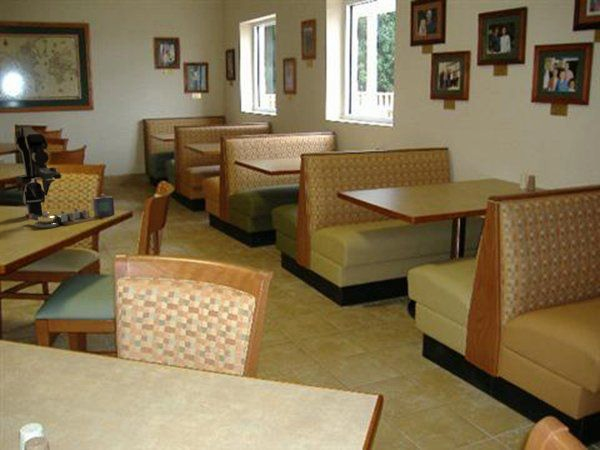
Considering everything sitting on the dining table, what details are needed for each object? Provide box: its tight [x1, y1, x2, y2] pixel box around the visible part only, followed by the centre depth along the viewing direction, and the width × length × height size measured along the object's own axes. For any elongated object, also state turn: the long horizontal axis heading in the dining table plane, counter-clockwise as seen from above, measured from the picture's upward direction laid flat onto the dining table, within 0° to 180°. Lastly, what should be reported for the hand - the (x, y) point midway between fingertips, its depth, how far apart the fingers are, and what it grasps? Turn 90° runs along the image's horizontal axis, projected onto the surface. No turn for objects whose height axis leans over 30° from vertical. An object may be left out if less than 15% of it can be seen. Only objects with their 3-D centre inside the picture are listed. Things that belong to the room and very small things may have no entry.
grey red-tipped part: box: [28, 214, 55, 224], centre depth 272 cm, size 15×7×3 cm, turn 57°
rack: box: [59, 207, 95, 226], centre depth 280 cm, size 9×14×5 cm, turn 147°
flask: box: [92, 193, 115, 218], centre depth 290 cm, size 9×3×11 cm, turn 115°
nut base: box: [34, 211, 60, 230], centre depth 270 cm, size 10×10×6 cm
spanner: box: [53, 209, 90, 222], centre depth 279 cm, size 5×16×3 cm, turn 147°
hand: (40, 196), depth 276 cm, fingers open, 5 cm apart
